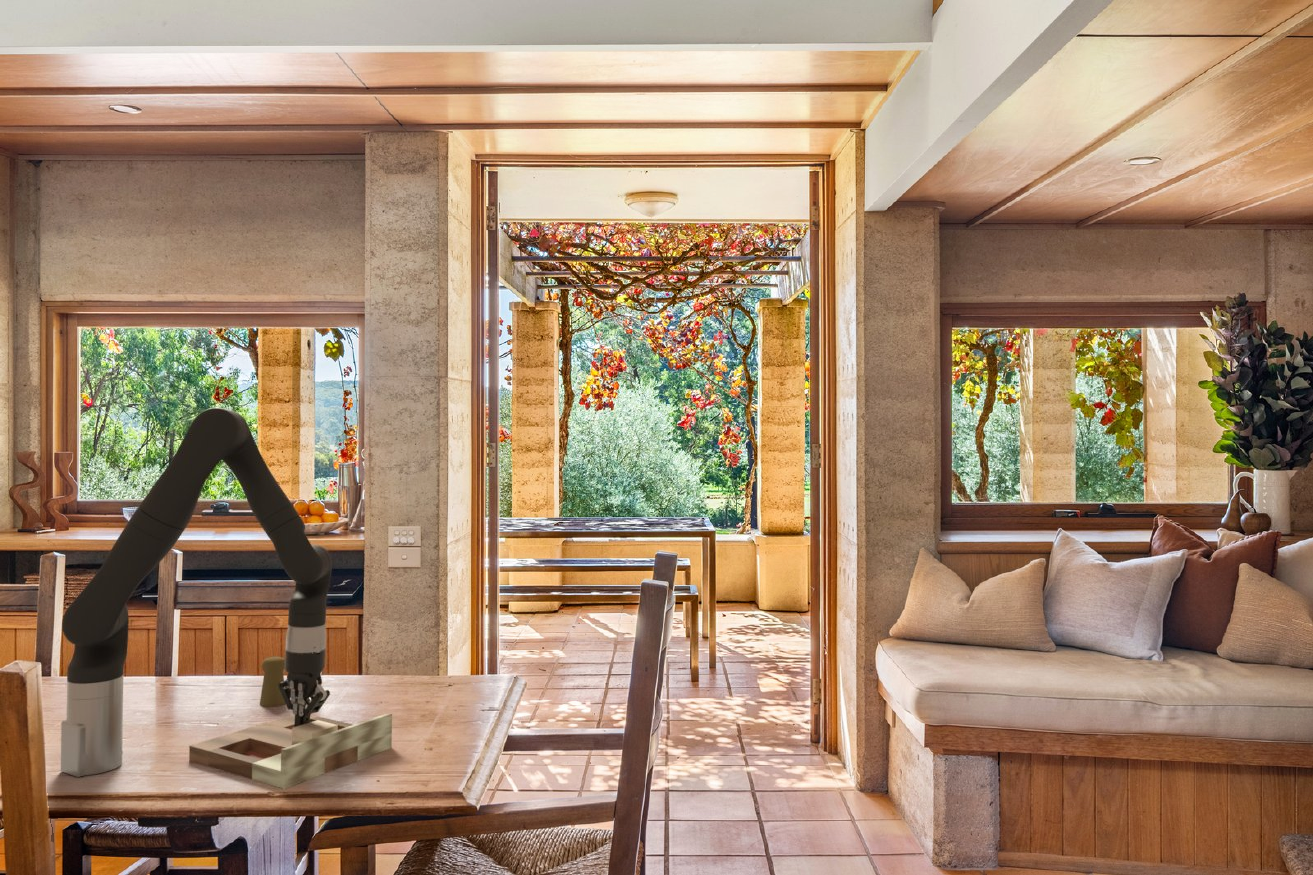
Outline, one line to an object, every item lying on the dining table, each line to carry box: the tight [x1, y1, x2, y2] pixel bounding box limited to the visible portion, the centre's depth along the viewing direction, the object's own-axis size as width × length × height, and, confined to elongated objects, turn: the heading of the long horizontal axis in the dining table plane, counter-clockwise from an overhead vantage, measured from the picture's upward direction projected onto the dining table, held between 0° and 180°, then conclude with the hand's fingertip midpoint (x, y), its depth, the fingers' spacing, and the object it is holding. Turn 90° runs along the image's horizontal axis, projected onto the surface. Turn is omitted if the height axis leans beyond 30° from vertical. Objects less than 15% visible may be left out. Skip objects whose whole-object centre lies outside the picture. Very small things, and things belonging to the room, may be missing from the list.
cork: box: [259, 656, 286, 708], centre depth 218 cm, size 6×6×11 cm
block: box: [292, 720, 338, 745], centre depth 178 cm, size 6×6×4 cm
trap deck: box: [188, 712, 393, 790], centre depth 182 cm, size 26×28×7 cm
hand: (301, 732), depth 181 cm, fingers closed
